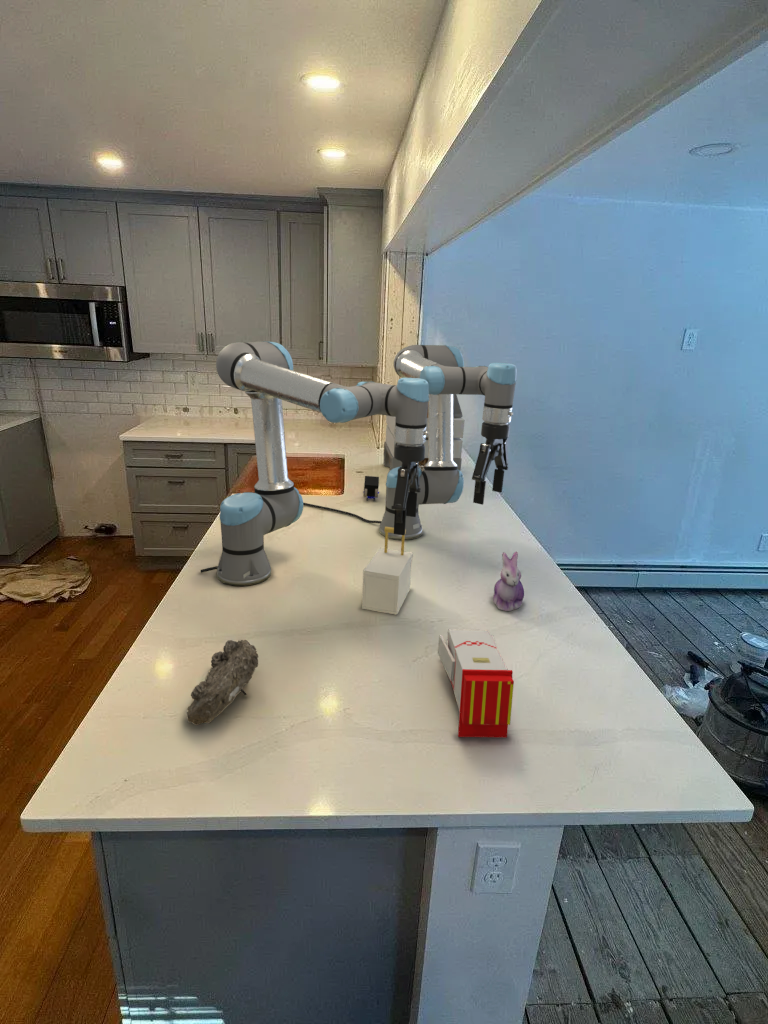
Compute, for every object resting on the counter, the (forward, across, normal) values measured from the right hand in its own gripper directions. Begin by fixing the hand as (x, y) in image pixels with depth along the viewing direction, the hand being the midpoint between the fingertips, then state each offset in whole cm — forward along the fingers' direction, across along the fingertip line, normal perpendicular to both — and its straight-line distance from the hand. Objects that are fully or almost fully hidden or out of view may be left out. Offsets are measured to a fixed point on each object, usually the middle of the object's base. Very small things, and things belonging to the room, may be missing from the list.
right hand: (487, 497), depth 160 cm
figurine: (+26, -9, -13) cm, 30 cm away
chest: (+26, -27, +16) cm, 40 cm away
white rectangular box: (+16, -26, +16) cm, 34 cm away
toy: (+26, -50, -20) cm, 60 cm away
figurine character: (+26, +43, +68) cm, 84 cm away
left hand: (+3, -27, +11) cm, 29 cm away
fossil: (+26, -80, +20) cm, 86 cm away
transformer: (+26, +90, +70) cm, 117 cm away
